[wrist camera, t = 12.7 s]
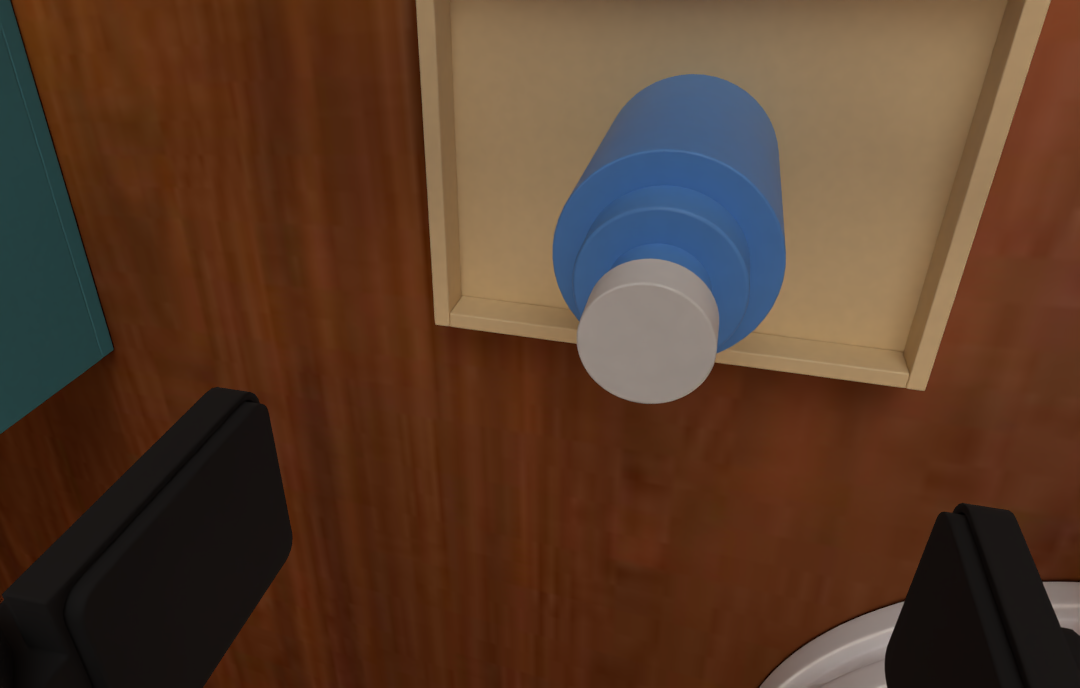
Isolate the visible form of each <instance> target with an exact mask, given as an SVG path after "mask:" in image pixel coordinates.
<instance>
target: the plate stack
mask: <svg viewBox="0 0 1080 688" xmlns="http://www.w3.org/2000/svg"><path fill="white" fill-rule="evenodd" d="M1043 585H1044V587H1045V590H1046V592H1047V594H1048V597H1049V599H1050V602H1051V604H1052V607H1053V609H1054V611H1055V614H1056V616H1057V619H1058V621H1059V623H1060V626H1061V627H1063V628H1068V629H1073V630H1074V631H1075V632H1076V633H1077V634H1078V635H1079V636H1080V582H1043ZM903 604H904V602H900V603H897V604H894V605H890V606H887V607H884V608H881V609H878V610H876V611H873V612H870V613H867V614H865V615H862V616H860V617H857V618H855V619H853V620H850V621H848V622H846V623H844V624H842V625H839V626H838V627H836V628H834V629H832V630H830V631H828V632H826V633H824V634H822V635H821V636H819V637H817V638H816V639H814V640H812V641H811V642H809V643H808V644H806V645H805V646H803V647H802V648H800V649H799V650H798V651H796V652H795V653H794V654H792V655H791V656H790V657H789V658H787V659H786V660H785V661H784V662H783V663H782V664H780V665H779V666H778V667H777V668H776V669H775V670H774V671H773V672H772V673H771V674H770V675H769V676H768V678H767V679H766V680H765V681H764V682H763V683H762V685H761V686H760V687H759V688H887V684H886V678H885V654H886V649H887V645H888V643H889V640H890V637H891V635H892V632H893V630H894V627H895V625H896V622H897V619H898V617H899V614H900V612H901V609H902V607H903Z"/></svg>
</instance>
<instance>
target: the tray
mask: <svg viewBox="0 0 1080 688" xmlns="http://www.w3.org/2000/svg"><path fill="white" fill-rule="evenodd" d="M1050 1H1051V0H416V11H417V28H418V45H419V62H420V79H421V96H422V113H423V129H424V146H425V163H426V180H427V197H428V214H429V231H430V247H431V264H432V281H433V298H434V315H435V324H436V325H442V326H451V327H457V328H464V329H471V330H479V331H486V332H494V333H501V334H508V335H516V336H523V337H531V338H538V339H545V340H553V341H560V342H568V343H575V344H577V329H578V324H579V321H578V319H577V318H576V317H575V315H574V314H573V313H572V311H571V310H570V309H569V307H568V305H567V303H566V302H565V300H564V298H563V296H562V294H561V291H560V289H559V287H558V284H557V280H556V277H555V273H554V266H553V259H552V255H553V239H554V232H555V228H556V225H557V222H558V218H559V216H560V214H561V212H562V210H563V207H564V205H565V204H566V202H567V200H568V198H569V197H570V195H571V193H572V192H573V190H574V188H575V186H576V185H577V183H578V181H579V180H580V178H581V176H582V175H583V173H584V171H585V169H586V168H587V166H588V164H589V163H590V161H591V159H592V157H593V156H594V154H595V152H596V151H597V149H598V147H599V145H600V144H601V142H602V140H603V139H604V137H605V135H606V133H607V132H608V130H609V128H610V127H611V125H612V123H613V121H614V120H615V118H616V117H617V115H618V113H619V112H620V110H621V109H622V108H623V107H624V106H625V104H626V103H627V102H628V101H629V100H630V99H631V98H632V97H634V96H635V95H636V94H637V93H638V92H640V91H641V90H643V89H644V88H646V87H647V86H649V85H651V84H653V83H655V82H657V81H660V80H663V79H665V78H669V77H673V76H678V75H686V74H701V75H708V76H714V77H718V78H721V79H724V80H727V81H729V82H731V83H733V84H735V85H737V86H739V87H740V88H742V89H743V90H745V91H746V92H747V93H749V94H750V95H751V96H752V97H753V98H754V99H755V100H756V101H757V102H758V103H759V104H760V106H761V107H762V108H763V109H764V111H765V112H766V114H767V116H768V117H769V119H770V121H771V123H772V126H773V128H774V131H775V134H776V138H777V142H778V150H779V163H780V177H781V191H782V204H783V218H784V232H785V246H786V268H785V274H784V279H783V283H782V286H781V289H780V292H779V295H778V297H777V299H776V301H775V303H774V305H773V307H772V309H771V310H770V312H769V313H768V314H767V316H766V317H765V319H764V320H763V321H762V322H761V323H760V324H759V325H758V327H757V328H756V329H755V330H754V331H752V332H751V333H750V334H749V335H748V336H746V337H745V338H744V339H743V340H741V341H739V342H738V343H736V344H735V345H733V346H732V347H730V348H728V349H726V350H724V351H721V352H719V353H717V354H716V359H715V362H716V363H723V364H730V365H738V366H745V367H752V368H760V369H767V370H775V371H782V372H789V373H797V374H804V375H812V376H819V377H826V378H834V379H841V380H849V381H856V382H863V383H871V384H878V385H886V386H893V387H900V388H905V387H906V388H907V389H913V390H920V391H925V389H926V385H927V382H928V379H929V376H930V373H931V370H932V367H933V364H934V361H935V358H936V354H937V351H938V348H939V345H940V342H941V339H942V336H943V333H944V330H945V327H946V324H947V320H948V317H949V314H950V311H951V308H952V305H953V302H954V299H955V296H956V293H957V289H958V286H959V283H960V280H961V277H962V274H963V271H964V268H965V265H966V262H967V258H968V255H969V252H970V249H971V246H972V243H973V240H974V237H975V234H976V231H977V227H978V224H979V221H980V218H981V215H982V212H983V209H984V206H985V203H986V200H987V197H988V193H989V190H990V187H991V184H992V181H993V178H994V175H995V172H996V169H997V166H998V162H999V159H1000V156H1001V153H1002V150H1003V147H1004V144H1005V141H1006V138H1007V135H1008V131H1009V128H1010V125H1011V122H1012V119H1013V116H1014V113H1015V110H1016V107H1017V104H1018V100H1019V97H1020V94H1021V91H1022V88H1023V85H1024V82H1025V79H1026V76H1027V73H1028V70H1029V66H1030V63H1031V60H1032V57H1033V54H1034V51H1035V48H1036V45H1037V42H1038V39H1039V35H1040V32H1041V29H1042V26H1043V23H1044V20H1045V17H1046V14H1047V11H1048V8H1049V4H1050Z"/></svg>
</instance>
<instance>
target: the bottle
mask: <svg viewBox="0 0 1080 688" xmlns="http://www.w3.org/2000/svg"><path fill="white" fill-rule="evenodd" d="M552 259H553V266H554V273H555V277H556V280H557V284H558V287H559V289H560V291H561V294H562V296H563V298H564V300H565V302H566V303H567V305H568V307H569V309H570V310H571V311H572V313H573V314H574V315H575V317H576V318H577V319H578V321H579V324H578V329H577V349H578V353H579V356H580V359H581V361H582V363H583V365H584V367H585V369H586V371H587V372H588V373H589V375H590V376H591V377H592V378H593V379H594V380H595V381H596V382H597V383H598V384H599V385H600V386H601V387H602V388H604V389H605V390H607V391H608V392H610V393H611V394H613V395H615V396H618V397H620V398H622V399H625V400H628V401H632V402H636V403H644V404H658V403H665V402H670V401H674V400H677V399H679V398H682V397H684V396H686V395H688V394H689V393H691V392H692V391H694V390H695V389H696V388H697V387H699V386H700V385H701V384H702V383H703V382H704V380H705V379H706V378H707V376H708V375H709V373H710V372H711V370H712V368H713V365H714V362H715V359H716V354H717V353H719V352H721V351H724V350H726V349H728V348H730V347H732V346H733V345H735V344H736V343H738V342H739V341H741V340H743V339H744V338H745V337H746V336H748V335H749V334H750V333H751V332H752V331H754V330H755V329H756V328H757V327H758V325H759V324H760V323H761V322H762V321H763V320H764V319H765V317H766V316H767V314H768V313H769V312H770V310H771V309H772V307H773V305H774V303H775V301H776V299H777V297H778V295H779V292H780V289H781V286H782V283H783V279H784V274H785V268H786V246H785V232H784V218H783V204H782V191H781V177H780V163H779V150H778V142H777V138H776V134H775V131H774V128H773V126H772V123H771V121H770V119H769V117H768V116H767V114H766V112H765V111H764V109H763V108H762V107H761V106H760V104H759V103H758V102H757V101H756V100H755V99H754V98H753V97H752V96H751V95H750V94H749V93H747V92H746V91H745V90H743V89H742V88H740V87H739V86H737V85H735V84H733V83H731V82H729V81H727V80H724V79H721V78H718V77H714V76H708V75H701V74H686V75H678V76H673V77H669V78H665V79H663V80H660V81H657V82H655V83H653V84H651V85H649V86H647V87H646V88H644V89H643V90H641V91H640V92H638V93H637V94H636V95H635V96H634V97H632V98H631V99H630V100H629V101H628V102H627V103H626V104H625V106H624V107H623V108H622V109H621V110H620V112H619V113H618V115H617V117H616V118H615V120H614V121H613V123H612V125H611V127H610V128H609V130H608V132H607V133H606V135H605V137H604V139H603V140H602V142H601V144H600V145H599V147H598V149H597V151H596V152H595V154H594V156H593V157H592V159H591V161H590V163H589V164H588V166H587V168H586V169H585V171H584V173H583V175H582V176H581V178H580V180H579V181H578V183H577V185H576V186H575V188H574V190H573V192H572V193H571V195H570V197H569V198H568V200H567V202H566V204H565V205H564V207H563V210H562V212H561V214H560V216H559V218H558V222H557V225H556V228H555V232H554V239H553V255H552Z"/></svg>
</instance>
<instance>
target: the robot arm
mask: <svg viewBox="0 0 1080 688" xmlns="http://www.w3.org/2000/svg"><path fill="white" fill-rule="evenodd" d="M291 546H292V531H291V525H290V520H289V515H288V510H287V505H286V500H285V495H284V489H283V484H282V479H281V474H280V469H279V464H278V459H277V453H276V448H275V443H274V438H273V433H272V428H271V423H270V417H269V413H268V410H267V407H266V406H265V405H263V404H260V403H259V400H258V398H257V396H256V395H255V394H253V393H251V392H245V391H239V390H232V389H226V388H220V387H216V388H212V389H211V390H209V391H208V392H207V393H205V394H204V395H203V396H202V397H201V398H200V399H199V400H198V401H197V402H196V403H195V404H194V405H193V406H192V407H191V408H190V409H189V410H188V411H187V412H186V413H185V414H184V415H183V416H182V417H181V418H180V419H179V420H178V421H177V422H176V423H175V424H174V425H173V426H172V427H171V428H170V429H169V430H168V431H167V432H166V433H165V434H164V435H163V436H162V437H161V438H160V439H159V440H158V441H157V442H156V443H155V444H154V445H153V446H152V447H151V448H150V449H149V450H148V451H147V452H146V453H145V454H144V455H143V456H142V457H141V458H140V459H139V460H138V461H137V462H136V463H135V464H134V465H133V466H132V467H131V468H129V469H128V470H127V471H126V472H125V473H124V474H123V475H122V476H121V477H120V478H119V479H118V480H117V481H116V482H115V483H114V484H113V485H112V486H111V487H110V488H109V489H108V490H107V491H106V492H105V493H104V494H103V495H102V496H101V497H100V498H99V499H98V500H97V501H96V502H95V503H94V504H93V505H92V506H91V507H90V508H89V509H88V510H87V511H86V512H85V513H84V514H83V515H82V516H81V517H80V518H79V519H78V520H77V521H76V522H75V523H74V524H73V525H72V526H71V527H70V528H69V529H68V530H67V531H66V532H65V533H64V534H63V535H62V536H61V537H60V538H59V539H58V540H57V541H56V542H54V543H53V544H52V545H51V546H50V547H49V548H48V549H47V550H46V551H45V552H44V553H43V554H42V555H41V556H40V557H39V558H38V559H37V560H36V561H35V562H34V563H33V564H32V565H31V566H30V567H29V568H28V569H27V570H26V571H25V572H24V573H23V574H22V575H21V576H20V577H19V578H18V579H17V580H16V581H15V582H14V583H13V584H12V585H11V586H10V587H9V588H8V589H7V590H6V591H5V592H4V593H3V594H2V596H3V598H4V601H3V602H2V603H1V604H0V688H203V686H204V685H205V683H206V682H207V680H208V679H209V677H210V676H211V674H212V673H213V671H214V670H215V668H216V666H217V665H218V663H219V662H220V660H221V659H222V657H223V656H224V654H225V653H226V651H227V650H228V648H229V647H230V645H231V644H232V642H233V641H234V639H235V637H236V636H237V634H238V633H239V631H240V630H241V628H242V627H243V625H244V624H245V622H246V621H247V619H248V618H249V616H250V615H251V613H252V612H253V610H254V609H255V607H256V605H257V604H258V602H259V601H260V599H261V598H262V596H263V595H264V593H265V592H266V590H267V589H268V587H269V586H270V584H271V583H272V581H273V580H274V578H275V576H276V575H277V573H278V572H279V570H280V569H281V567H282V566H283V564H284V563H285V561H286V559H287V558H288V556H289V553H290V550H291ZM885 678H886V684H887V688H1080V636H1079V635H1078V634H1077V633H1076V632H1075V631H1074V630H1073V629H1068V628H1063V627H1061V626H1060V623H1059V621H1058V619H1057V616H1056V614H1055V611H1054V609H1053V607H1052V604H1051V602H1050V599H1049V597H1048V594H1047V592H1046V590H1045V587H1044V585H1043V582H1042V580H1041V578H1040V575H1039V573H1038V570H1037V568H1036V566H1035V563H1034V561H1033V558H1032V556H1031V554H1030V551H1029V549H1028V546H1027V544H1026V541H1025V539H1024V537H1023V534H1022V532H1021V529H1020V527H1019V525H1018V522H1017V520H1016V518H1015V516H1014V515H1013V513H1012V512H1010V511H1009V510H1003V509H997V508H990V507H984V506H977V505H971V504H965V503H962V504H959V505H957V506H956V507H955V509H954V511H953V513H948V512H941V513H940V514H939V515H938V517H937V519H936V522H935V524H934V527H933V529H932V532H931V535H930V537H929V540H928V542H927V545H926V547H925V550H924V553H923V555H922V558H921V560H920V563H919V565H918V568H917V571H916V573H915V576H914V578H913V581H912V583H911V586H910V589H909V591H908V594H907V596H906V599H905V601H904V604H903V607H902V609H901V612H900V614H899V617H898V619H897V622H896V625H895V627H894V630H893V632H892V635H891V637H890V640H889V643H888V645H887V649H886V654H885Z"/></svg>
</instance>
